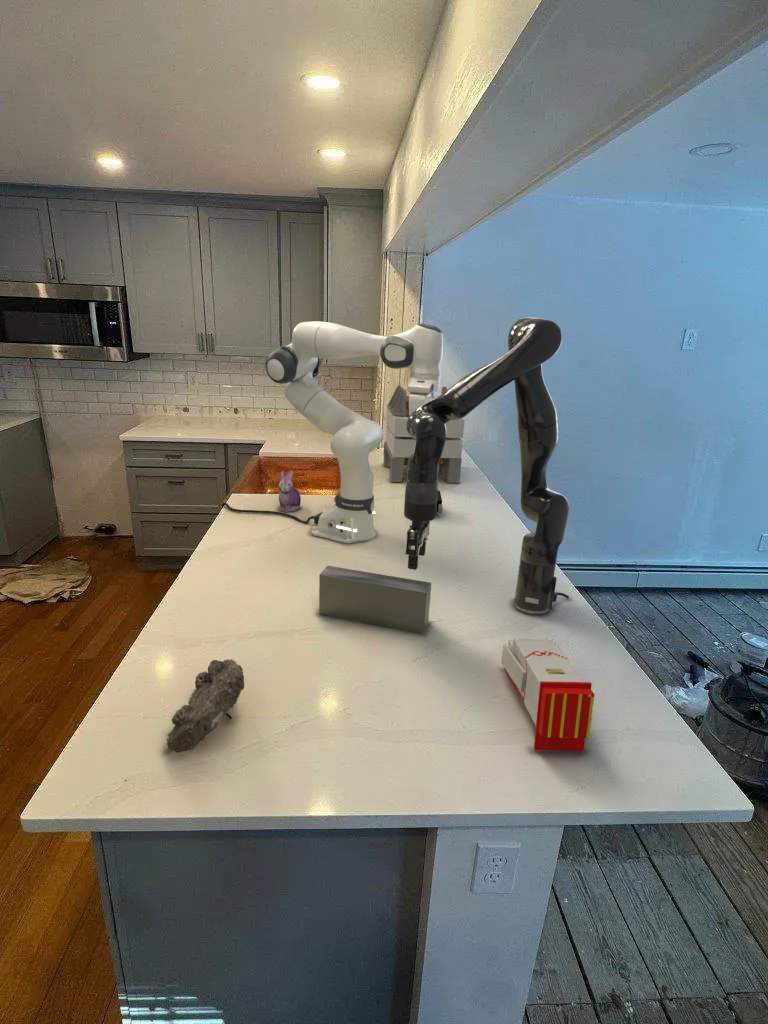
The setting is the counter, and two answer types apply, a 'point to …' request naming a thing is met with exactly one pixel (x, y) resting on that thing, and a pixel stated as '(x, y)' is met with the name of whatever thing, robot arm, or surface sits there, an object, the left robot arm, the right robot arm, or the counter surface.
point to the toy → (550, 693)
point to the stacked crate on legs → (404, 445)
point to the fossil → (206, 705)
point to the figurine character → (439, 504)
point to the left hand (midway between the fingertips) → (420, 430)
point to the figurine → (288, 493)
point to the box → (374, 598)
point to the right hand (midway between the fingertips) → (416, 561)
